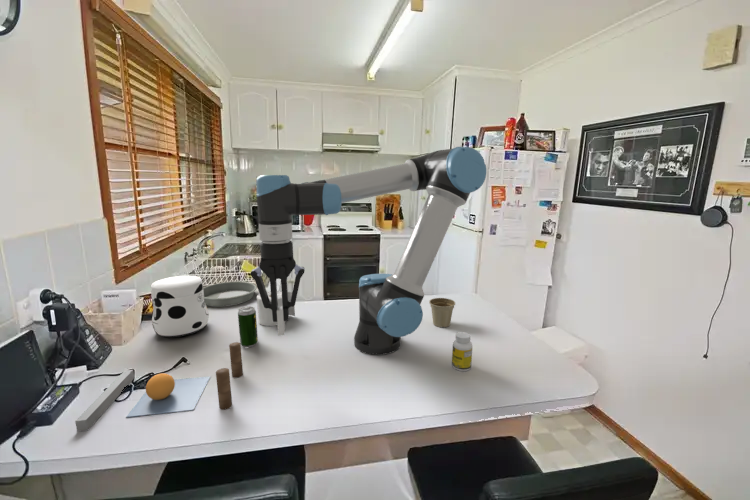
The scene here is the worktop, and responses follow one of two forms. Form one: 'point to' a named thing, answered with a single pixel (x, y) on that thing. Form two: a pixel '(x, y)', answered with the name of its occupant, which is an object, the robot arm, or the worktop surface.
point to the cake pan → (216, 289)
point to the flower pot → (442, 311)
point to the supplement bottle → (462, 352)
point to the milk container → (178, 306)
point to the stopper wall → (104, 401)
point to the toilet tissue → (266, 313)
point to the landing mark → (173, 398)
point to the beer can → (247, 326)
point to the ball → (160, 386)
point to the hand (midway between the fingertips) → (281, 332)
